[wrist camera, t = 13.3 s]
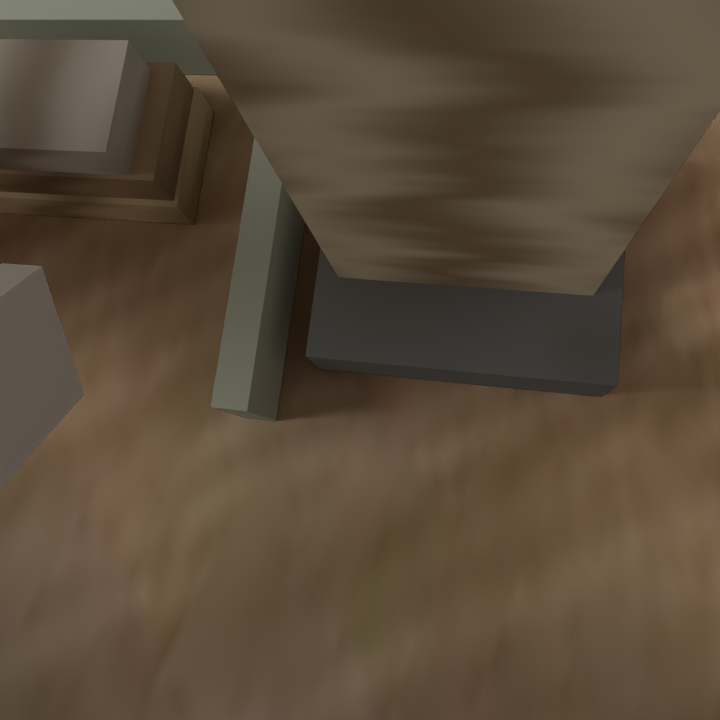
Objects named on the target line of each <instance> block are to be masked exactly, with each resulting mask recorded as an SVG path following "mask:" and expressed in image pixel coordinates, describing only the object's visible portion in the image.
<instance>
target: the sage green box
mask: <svg viewBox="0 0 720 720" xmlns="http://www.w3.org/2000/svg"><path fill="white" fill-rule="evenodd" d="M0 39H31V40H129V42H130V43H131V44H132V46H133V47H134V48H135V50H136V51H137V52H138V54H139V55H140V56H141V58H142V59H143V60H144V62H176V63H177V65H178V66H179V68H180V69H181V71H182V72H183V74H199V75H217V74H216V73H215V71H214V69H213V68H212V66H211V64H210V63H209V61H208V59H207V58H206V56H205V54H204V53H203V51H202V49H201V48H200V46H199V44H198V43H197V41H196V39H195V38H194V36H193V34H192V33H191V31H190V29H189V28H188V26H187V24H186V23H185V21H184V19H183V18H182V16H181V14H180V13H179V11H178V9H177V8H176V6H175V4H174V3H173V1H172V0H0ZM304 224H305V221H304V219H303V217H302V216H301V214H300V212H299V211H298V209H297V207H296V206H295V204H294V202H293V201H292V199H291V197H290V196H289V194H288V192H287V191H286V189H285V187H284V186H283V184H282V182H281V181H280V179H279V177H278V176H277V174H276V172H275V171H274V169H273V167H272V166H271V164H270V162H269V161H268V159H267V157H266V156H265V154H264V152H263V151H262V149H261V147H260V146H259V144H258V142H257V141H256V139H255V137H254V143H253V149H252V155H251V161H250V167H249V173H248V180H247V186H246V192H245V198H244V204H243V210H242V216H241V223H240V229H239V235H238V241H237V247H236V253H235V260H234V266H233V272H232V278H231V284H230V290H229V296H228V303H227V309H226V315H225V321H224V327H223V333H222V339H221V346H220V352H219V358H218V364H217V370H216V376H215V383H214V389H213V395H212V401H211V408H215V409H218V410H221V411H224V412H228V413H231V414H234V415H237V416H240V417H244V418H252V419H261V420H269V421H276V418H277V411H278V404H279V397H280V390H281V383H282V376H283V369H284V362H285V355H286V349H287V342H288V335H289V328H290V321H291V314H292V307H293V300H294V293H295V286H296V279H297V273H298V266H299V259H300V252H301V245H302V238H303V231H304Z"/></svg>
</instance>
